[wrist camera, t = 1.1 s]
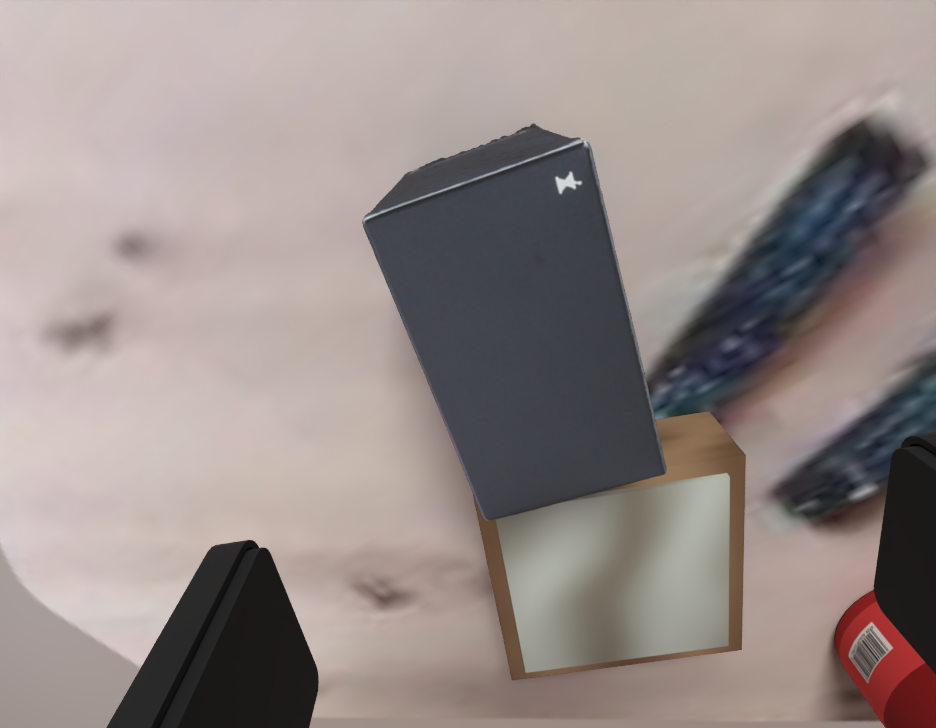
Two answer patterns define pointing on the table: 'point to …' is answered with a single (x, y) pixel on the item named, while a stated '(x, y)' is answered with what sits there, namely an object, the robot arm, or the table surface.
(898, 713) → the canned food
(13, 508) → the table surface
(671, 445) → the wooden box
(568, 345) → the small box
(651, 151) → the table surface
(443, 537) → the table surface
